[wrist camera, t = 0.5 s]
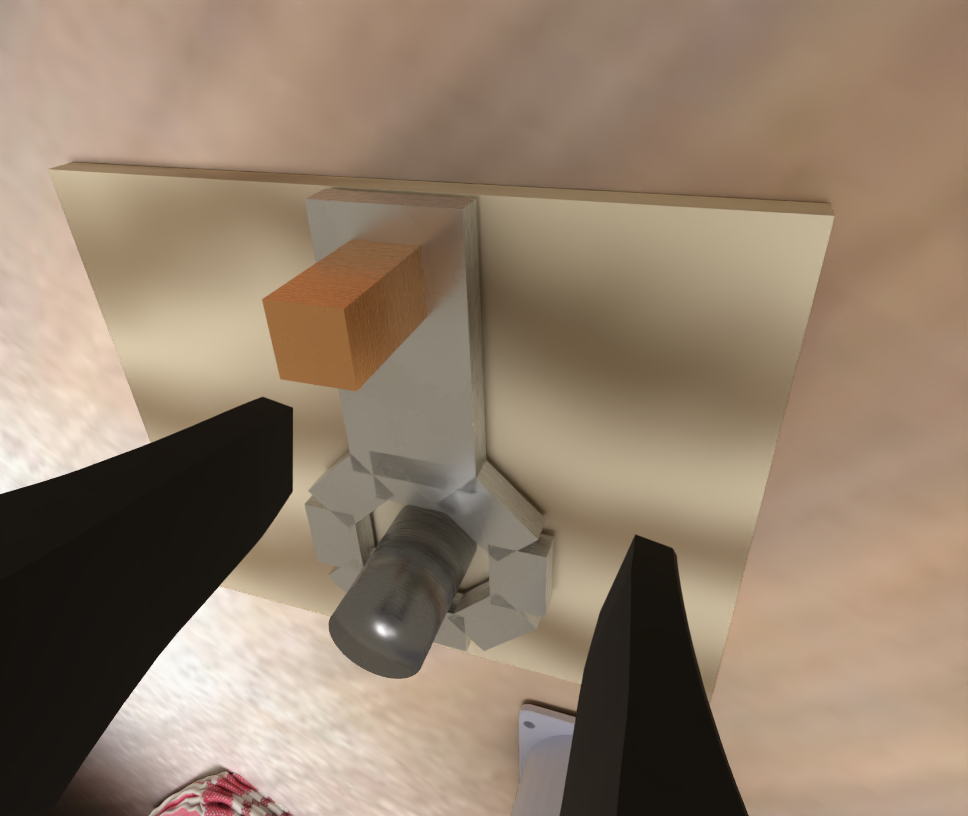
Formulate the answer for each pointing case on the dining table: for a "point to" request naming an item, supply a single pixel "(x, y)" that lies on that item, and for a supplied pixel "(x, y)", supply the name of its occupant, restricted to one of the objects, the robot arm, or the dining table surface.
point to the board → (494, 366)
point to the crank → (408, 396)
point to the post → (403, 593)
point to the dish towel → (220, 799)
